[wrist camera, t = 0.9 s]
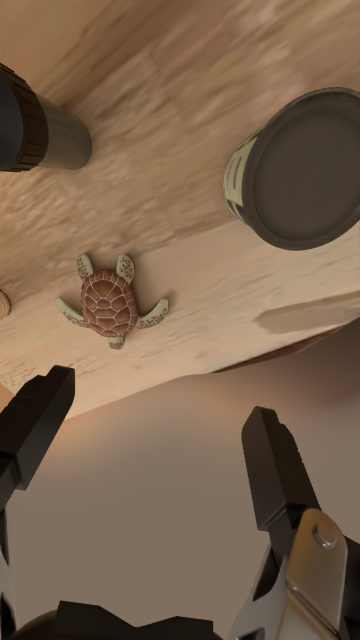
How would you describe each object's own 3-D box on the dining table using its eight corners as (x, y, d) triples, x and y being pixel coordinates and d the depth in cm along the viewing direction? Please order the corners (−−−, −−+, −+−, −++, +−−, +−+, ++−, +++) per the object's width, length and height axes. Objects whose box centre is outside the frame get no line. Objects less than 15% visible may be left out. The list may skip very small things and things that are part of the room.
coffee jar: (39, 106, 27) (-77, 50, 16) (90, 114, 27) (13, 64, 16) (47, 166, 30) (-46, 156, 18) (92, 173, 30) (29, 168, 19)
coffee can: (310, 209, 31) (385, 227, 19) (232, 235, 33) (254, 266, 21) (304, 112, 26) (400, 53, 14) (213, 149, 28) (228, 125, 16)
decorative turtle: (73, 342, 44) (59, 359, 40) (46, 251, 36) (26, 261, 31) (170, 343, 43) (168, 361, 39) (166, 251, 35) (163, 261, 30)
